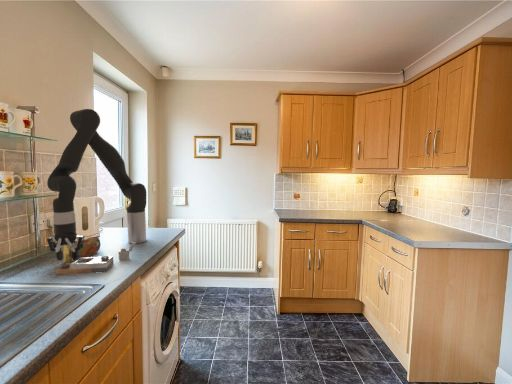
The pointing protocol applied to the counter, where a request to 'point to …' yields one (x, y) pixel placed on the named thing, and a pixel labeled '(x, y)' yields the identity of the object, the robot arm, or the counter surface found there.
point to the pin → (67, 254)
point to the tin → (89, 247)
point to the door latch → (86, 265)
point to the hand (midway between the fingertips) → (67, 259)
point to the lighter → (125, 252)
